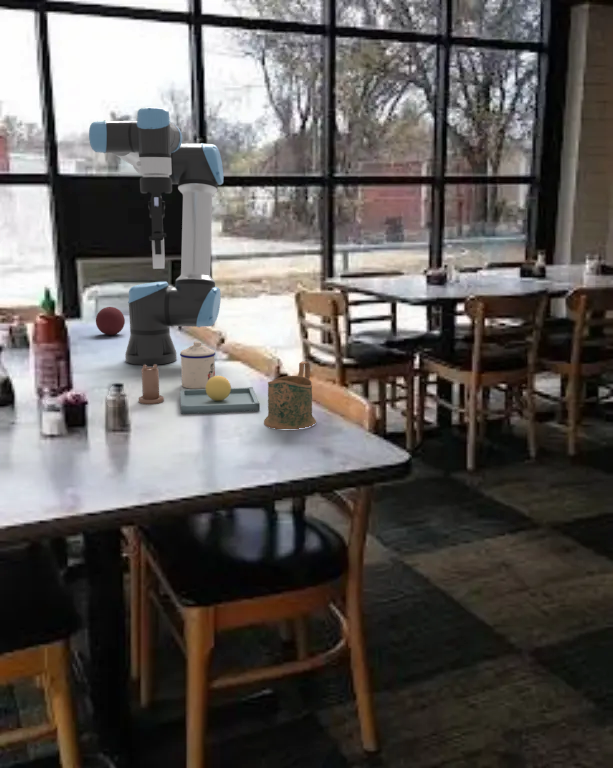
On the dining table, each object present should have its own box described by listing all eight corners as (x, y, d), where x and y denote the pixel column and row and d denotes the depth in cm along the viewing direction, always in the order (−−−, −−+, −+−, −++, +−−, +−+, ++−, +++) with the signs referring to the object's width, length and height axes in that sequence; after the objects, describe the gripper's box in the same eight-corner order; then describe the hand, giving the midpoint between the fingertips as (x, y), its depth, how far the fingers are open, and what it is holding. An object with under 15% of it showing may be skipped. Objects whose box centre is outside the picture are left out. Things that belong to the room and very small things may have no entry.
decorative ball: (121, 337, 277) (120, 309, 275) (93, 337, 278) (91, 308, 275) (128, 332, 287) (127, 305, 285) (100, 332, 287) (99, 304, 285)
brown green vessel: (331, 411, 184) (331, 361, 182) (306, 432, 168) (306, 377, 165) (284, 407, 188) (284, 357, 185) (255, 427, 172) (255, 373, 169)
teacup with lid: (215, 389, 205) (214, 344, 202) (180, 389, 204) (178, 345, 201) (216, 378, 217) (215, 336, 214) (182, 379, 216) (180, 337, 213)
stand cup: (139, 398, 195) (137, 363, 193) (163, 397, 196) (162, 362, 194) (138, 404, 190) (136, 368, 188) (163, 403, 191) (162, 367, 189)
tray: (180, 396, 197) (180, 389, 197) (252, 394, 200) (252, 387, 199) (181, 414, 182) (181, 406, 181) (259, 410, 185) (259, 403, 184)
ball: (205, 397, 193) (204, 373, 192) (230, 397, 194) (229, 372, 193) (206, 404, 187) (205, 379, 186) (232, 403, 188) (231, 378, 187)
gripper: (141, 177, 201) (144, 261, 206) (137, 175, 177) (141, 270, 182) (171, 177, 202) (174, 261, 207) (171, 175, 178) (175, 270, 183)
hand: (159, 266), depth 195 cm, fingers open, 13 cm apart
